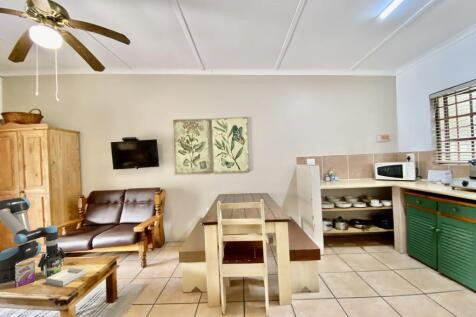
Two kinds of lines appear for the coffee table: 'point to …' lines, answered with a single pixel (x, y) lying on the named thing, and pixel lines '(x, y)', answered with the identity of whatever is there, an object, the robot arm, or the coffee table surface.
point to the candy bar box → (24, 273)
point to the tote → (65, 276)
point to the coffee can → (52, 266)
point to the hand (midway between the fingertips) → (52, 270)
